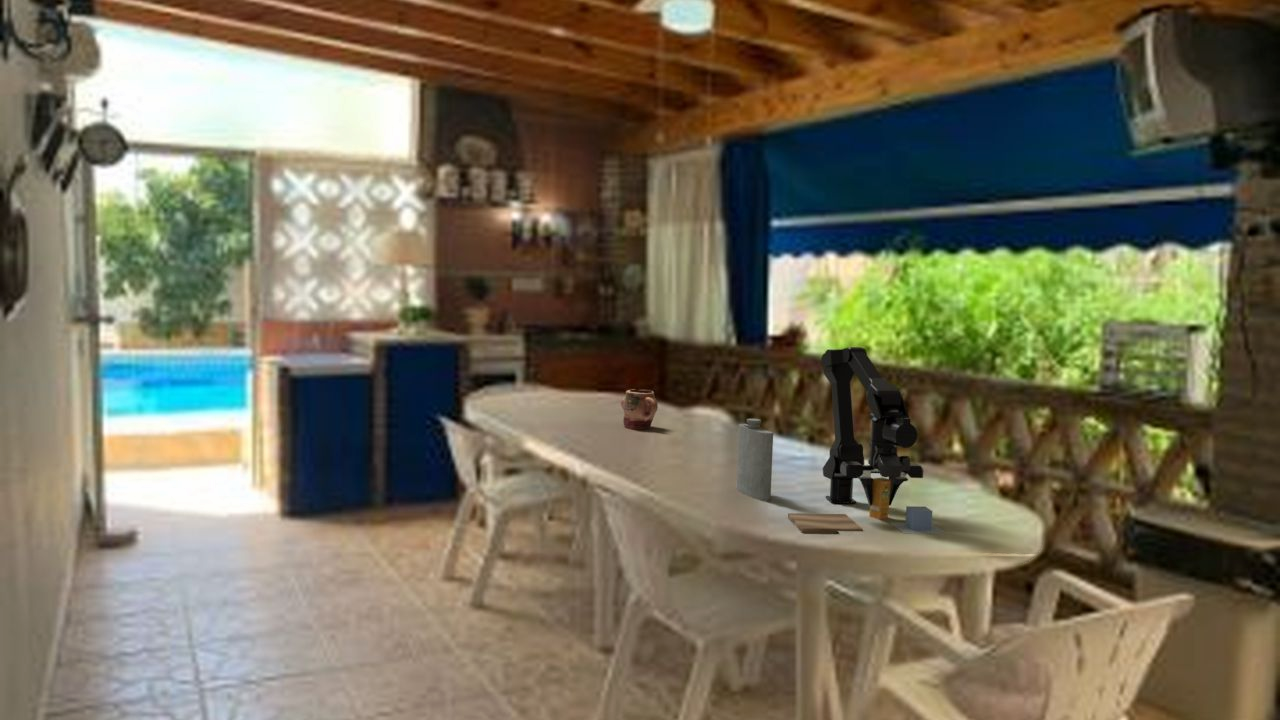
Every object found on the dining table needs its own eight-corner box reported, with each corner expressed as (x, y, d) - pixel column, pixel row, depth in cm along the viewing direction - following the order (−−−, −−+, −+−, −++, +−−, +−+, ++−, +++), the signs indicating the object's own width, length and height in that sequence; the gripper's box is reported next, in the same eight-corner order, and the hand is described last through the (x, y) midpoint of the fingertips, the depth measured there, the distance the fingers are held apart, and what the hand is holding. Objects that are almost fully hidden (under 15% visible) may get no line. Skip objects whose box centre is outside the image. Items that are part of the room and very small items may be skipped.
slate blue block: (905, 525, 234) (906, 506, 234) (924, 525, 235) (925, 506, 234) (912, 530, 230) (913, 510, 229) (931, 530, 230) (932, 511, 230)
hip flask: (772, 500, 259) (775, 423, 257) (758, 501, 257) (761, 423, 256) (745, 487, 274) (748, 414, 272) (731, 488, 272) (734, 414, 270)
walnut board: (787, 517, 241) (788, 513, 241) (845, 518, 242) (845, 513, 242) (801, 532, 227) (801, 528, 227) (862, 533, 228) (862, 528, 228)
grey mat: (889, 524, 237) (890, 522, 237) (931, 525, 238) (931, 522, 238) (904, 535, 227) (904, 533, 227) (947, 536, 228) (947, 533, 228)
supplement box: (879, 521, 239) (881, 480, 239) (868, 518, 242) (870, 477, 241) (889, 520, 241) (891, 479, 240) (878, 517, 244) (880, 476, 243)
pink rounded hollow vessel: (669, 430, 367) (671, 393, 365) (642, 433, 359) (643, 394, 358) (637, 423, 383) (638, 386, 381) (610, 425, 375) (611, 388, 374)
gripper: (854, 445, 231) (851, 512, 233) (933, 447, 233) (929, 513, 234) (841, 437, 242) (838, 501, 244) (916, 439, 244) (913, 502, 245)
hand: (879, 505), depth 241 cm, fingers closed on supplement box, 4 cm apart
